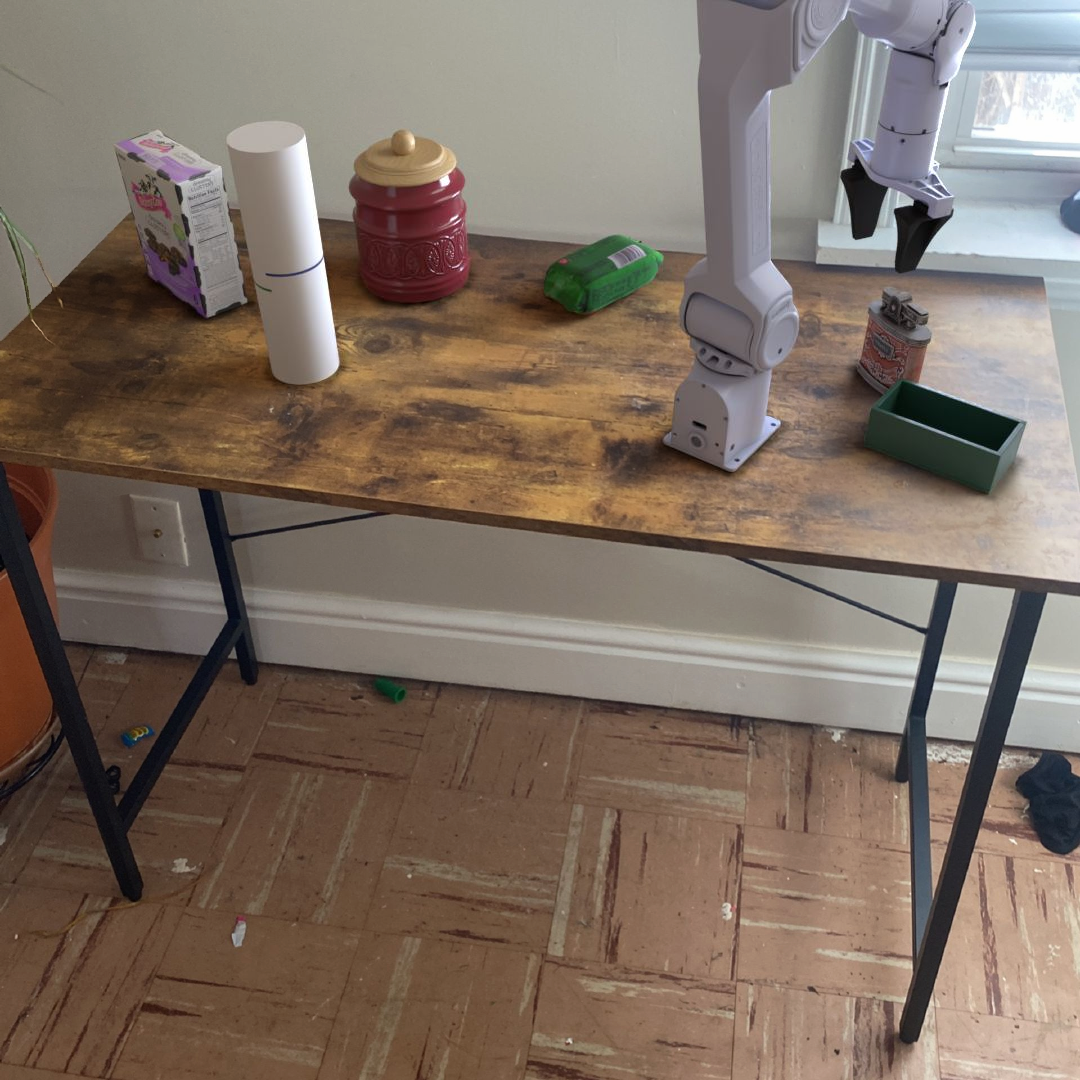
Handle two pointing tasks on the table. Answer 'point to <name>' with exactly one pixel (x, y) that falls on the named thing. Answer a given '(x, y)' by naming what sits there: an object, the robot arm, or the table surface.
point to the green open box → (944, 434)
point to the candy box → (182, 222)
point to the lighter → (894, 340)
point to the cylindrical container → (285, 249)
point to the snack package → (601, 273)
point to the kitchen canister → (410, 219)
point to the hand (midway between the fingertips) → (883, 253)
